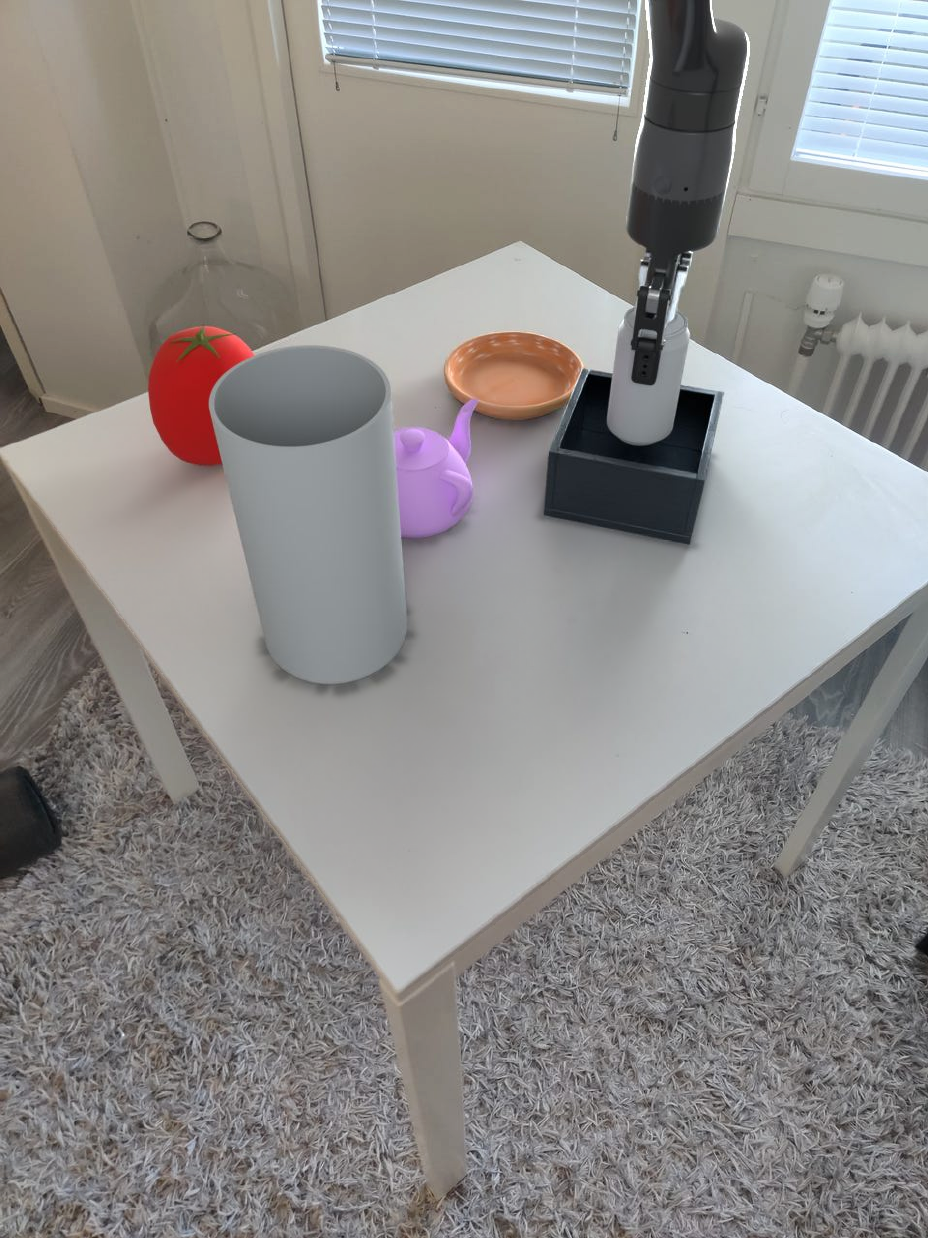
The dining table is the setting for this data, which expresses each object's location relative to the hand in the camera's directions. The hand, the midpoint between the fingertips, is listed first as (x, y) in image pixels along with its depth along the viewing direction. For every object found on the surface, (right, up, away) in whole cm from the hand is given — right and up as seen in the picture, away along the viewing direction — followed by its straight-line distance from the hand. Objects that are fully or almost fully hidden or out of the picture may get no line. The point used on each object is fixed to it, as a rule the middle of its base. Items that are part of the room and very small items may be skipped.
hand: (650, 360), depth 87 cm
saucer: (-11, +3, +23) cm, 25 cm away
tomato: (-43, -6, +15) cm, 46 cm away
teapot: (-22, -13, +9) cm, 27 cm away
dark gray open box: (0, -10, +11) cm, 15 cm away
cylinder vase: (-28, -25, -3) cm, 38 cm away
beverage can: (0, -5, +6) cm, 8 cm away
